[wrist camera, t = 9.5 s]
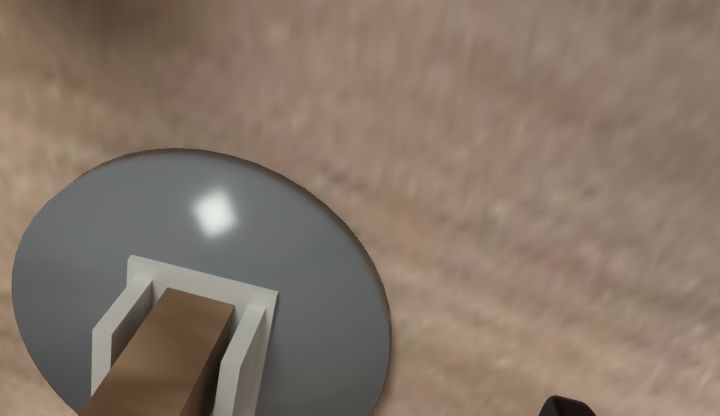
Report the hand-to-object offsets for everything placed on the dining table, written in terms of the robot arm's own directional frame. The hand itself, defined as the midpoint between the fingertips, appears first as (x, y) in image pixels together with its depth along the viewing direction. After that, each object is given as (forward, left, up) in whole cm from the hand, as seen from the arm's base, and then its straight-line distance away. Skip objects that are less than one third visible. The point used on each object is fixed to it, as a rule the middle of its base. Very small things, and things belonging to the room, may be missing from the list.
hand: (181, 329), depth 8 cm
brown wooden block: (+3, +11, -12) cm, 16 cm away
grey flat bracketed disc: (+3, +11, -13) cm, 17 cm away
